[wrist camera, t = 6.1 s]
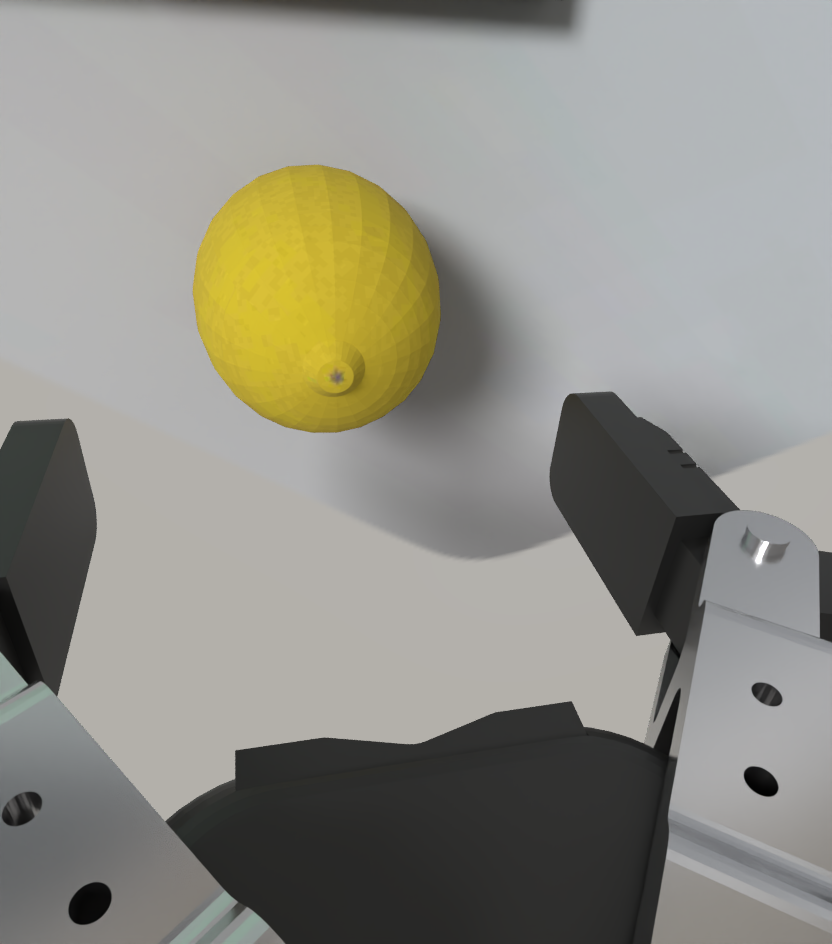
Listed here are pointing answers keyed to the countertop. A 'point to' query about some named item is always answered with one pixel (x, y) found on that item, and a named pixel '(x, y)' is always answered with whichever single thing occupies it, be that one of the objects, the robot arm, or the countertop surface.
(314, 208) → the lemon
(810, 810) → the robot arm
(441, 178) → the countertop surface
